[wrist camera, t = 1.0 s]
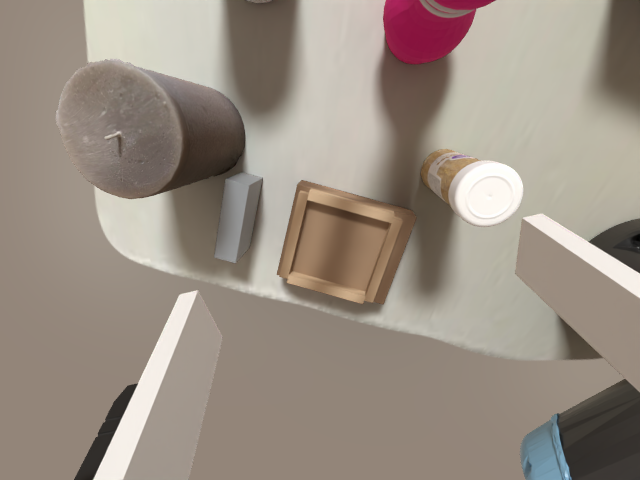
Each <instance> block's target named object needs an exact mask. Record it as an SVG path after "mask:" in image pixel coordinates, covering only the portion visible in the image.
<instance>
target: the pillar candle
mask: <svg viewBox="0 0 640 480" xmlns="http://www.w3.org/2000/svg"><path fill="white" fill-rule="evenodd" d="M56 123H57V126H58V127H59V128H60V133H61V137H62V141H63V144H64V146H65V149H66V151H67V153H68V155H69V157H70V159H71V160H72V162H73V164H74V165H75V166H76V168H77V169H78V170H79V171H80V173H81V174H82V175H83V176H84V177H85V178H86V179H87V180H88V181H89V182H91V183H92V184H93V185H95V186H96V187H98V188H99V189H101V190H103V191H105V192H107V193H110V194H112V195H115V196H118V197H122V198H128V199H135V198H144V197H149V196H153V195H156V194H160V193H163V192H166V191H169V190H172V189H176V188H179V187H181V186H185V185H188V184H191V183H193V182H197V181H199V180H203V179H207V178H209V177H211V176H216V175H220V174H223V173H225V172H227V171H229V170H230V169H231V168H232V167H234V166H235V165H236V162H237V160H238V159H239V157H240V156H241V155H242V152H243V148H244V144H245V132H244V125H243V121H242V119H241V116H240V114H239V112H238V110H237V109H236V107H235V106H234V105H233V103H232V102H231V101H230V100H229V99H228V98H227V97H226V96H224V95H223V94H222V93H220V92H218V91H216V90H215V89H212V88H209V87H206V86H202V85H199V84H195V83H192V82H189V81H185V80H182V79H178V78H175V77H171V76H168V75H164V74H161V73H157V72H154V71H150V70H146V69H143V68H139V67H136V66H134V65H133V64H131V63H128V62H127V63H124V62H123V61H121V60H117V59H111V60H107V59H105V60H104V61H99V62H90V63H87V66H86V67H83V68H82V67H81V68H79V69H77V71H76V73H75V74H74V75H73V76H72V77H71V79H70V80H69V81H67V82H66V85H65V87H64V90H63V92H62V94H61V97H60V102H59V106H58V111H56Z"/></svg>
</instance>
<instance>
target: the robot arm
mask: <svg viewBox="0 0 640 480" xmlns="http://www.w3.org/2000/svg"><path fill="white" fill-rule="evenodd" d="M515 274H516V275H517V276H518V277H519V278H520V279H521V280H522V281H523V282H524V283H525V284H526V285H528V286H529V287H530V288H531V289H532V290H533V291H534V292H535V293H536V294H537V295H538V296H539V297H540V298H541V299H542V300H543V301H544V302H545V303H546V304H547V305H548V306H550V307H551V308H552V309H553V310H554V311H555V312H556V313H557V314H558V315H559V316H560V317H561V318H562V319H563V320H564V321H565V322H566V323H567V324H568V325H569V326H571V327H572V328H573V329H574V330H575V331H576V332H577V333H578V334H579V335H580V336H581V337H582V338H583V339H584V340H585V341H586V342H587V343H588V344H589V345H590V346H592V347H593V348H594V349H595V350H596V351H597V352H598V353H599V354H600V355H601V356H602V357H603V358H604V359H605V360H606V361H608V363H609V364H610V365H611V366H613V367H614V368H615V369H616V370H617V371H618V372H619V373H620V374H621V375H622V376H623V377H624V378H625V379H624V380H622V381H620V382H619V383H616V384H615V385H613V386H611V387H609V388H607V389H606V390H604V391H602V392H600V393H598V394H596V395H594V396H592V397H591V398H589V399H587V400H585V401H583V402H581V403H580V404H578V405H576V406H574V407H572V408H570V409H568V410H566V411H565V412H563V413H561V414H555V415H553V416H552V417H551V420H549V421H548V422H546V423H545V424H543V425H541V426H540V427H538V428H536V429H535V430H533V431H532V432H530V433H529V434H527V435H526V436H525V438H524V439H523V441H522V443H521V448H520V458H521V464H522V469H523V472H524V476H525V479H526V480H640V219H636V220H631V221H628V222H625V223H622V224H619V225H617V226H614V227H612V228H610V229H608V230H606V231H604V232H602V233H601V234H599V235H598V236H596V237H595V238H593V239H592V240H591V241H590V242H587V241H586V240H584V239H583V238H581V237H579V236H578V235H576V234H574V233H573V232H571V231H570V230H568V229H566V228H565V227H563V226H561V225H560V224H558V223H556V222H555V221H553V220H552V219H550V218H548V217H547V216H545V215H543V214H537V215H533V216H528V217H524V218H522V223H521V231H520V239H519V247H518V255H517V262H516V270H515ZM222 338H223V337H222V335H221V333H220V331H219V329H218V327H217V326H216V324H215V322H214V320H213V318H212V316H211V314H210V312H209V310H208V308H207V306H206V304H205V302H204V301H203V299H202V297H201V295H200V293H199V291H198V290H197V291H193V292H189V293H184V294H180V295H179V297H178V300H177V302H176V304H175V306H174V308H173V310H172V312H171V315H170V317H169V319H168V321H167V323H166V325H165V327H164V329H163V332H162V334H161V336H160V338H159V340H158V342H157V344H156V347H155V349H154V351H153V353H152V355H151V357H150V360H149V362H148V364H147V366H146V368H145V370H144V372H143V374H142V377H141V379H140V381H139V383H138V384H134V385H129V386H127V387H126V388H125V390H124V391H123V392H122V393H121V394H120V395H119V397H118V398H117V399H116V400H115V401H114V403H113V405H112V407H111V409H110V411H109V413H108V415H107V417H106V419H105V420H106V421H105V422H104V423H103V424H102V426H101V428H100V430H99V432H98V437H96V438H95V440H94V442H93V444H92V446H91V448H90V450H89V452H88V454H87V456H86V457H85V460H84V461H83V463H82V465H81V467H80V469H79V471H78V473H77V475H76V477H75V479H74V480H188V479H189V475H190V471H191V466H192V463H193V459H194V454H195V450H196V445H197V442H198V438H199V433H200V430H201V425H202V421H203V417H204V413H205V409H206V405H207V401H208V396H209V392H210V388H211V384H212V380H213V375H214V372H215V367H216V363H217V359H218V355H219V351H220V347H221V342H222Z"/></svg>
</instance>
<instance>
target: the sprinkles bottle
mask: <svg viewBox="0 0 640 480" xmlns="http://www.w3.org/2000/svg"><path fill="white" fill-rule="evenodd" d="M421 177H422V180H423V182H424V184H425V185H426V186H427V187H428V188H430V189H432V190H433V192H435V193H436V194H437V195H438V196H439V197H440V198H441V199H443V200H444V201H445V202H446V203H447V204H448V205H450V206H451V208H452V209H453V211H454V212H455V213H456V214H457V215H458V216H459V217H461V218H462V219H463V220H464V221H466V222H467V223H469V224H472V225H474V226H479V227H489V226H494V225H497V224H500V223H502V222H504V221H505V220H507V219H508V218H510V217H511V216H512V215H513V214H514V213H515V212H516V210H517V209H518V207H519V205H520V203H521V201H522V198H523V184H522V181H521V178H520V177H519V175H518V174H517V173H516V171H514V170H513V169H512V168H510V167H509V166H507V165H504V164H501V163H498V162H494V161H488V160H486V161H480V160H478V159H476V158H473V157H470V156H466V155H463V154H460V153H457V152H455V151H452V150H448V149H441V150H438V151H436V152H434V153H432V154H431V155H429V156H428V157H427V158H426V160H425V161H424V163H423V166H422V170H421Z"/></svg>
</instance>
